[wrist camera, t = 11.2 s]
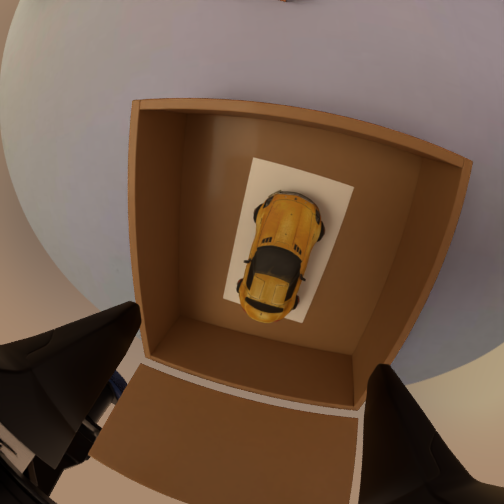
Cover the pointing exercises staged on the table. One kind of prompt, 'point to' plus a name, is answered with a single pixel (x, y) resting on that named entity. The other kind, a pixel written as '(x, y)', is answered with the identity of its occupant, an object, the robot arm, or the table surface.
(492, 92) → the table surface
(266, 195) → the toy car
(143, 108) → the carton
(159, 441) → the flap
